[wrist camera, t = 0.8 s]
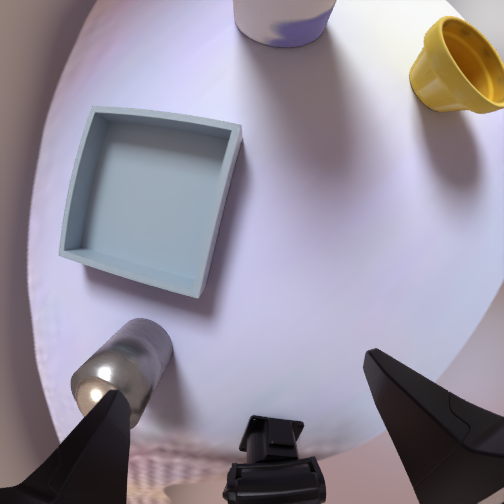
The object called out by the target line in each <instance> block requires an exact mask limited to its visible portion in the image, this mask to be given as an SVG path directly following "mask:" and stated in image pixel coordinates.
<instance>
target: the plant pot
mask: <svg viewBox="0 0 504 504" xmlns="http://www.w3.org/2000/svg"><path fill="white" fill-rule="evenodd" d="M410 82H411V86H412V88H413V90H414V92H415V94H416V95H417V96H418V98H419V99H420V100H421V101H422V102H423V103H424V104H425V105H426V106H427V107H429V108H430V109H432V110H434V111H437V112H448V111H460V110H470V111H472V112H475V113H479V114H485V113H490V112H493V111H497V110H499V109H503V108H504V64H503V62H502V60H501V58H500V56H499V55H498V53H497V52H496V50H495V49H494V47H493V46H492V45H491V43H490V42H489V41H488V40H487V39H486V38H485V36H484V35H482V33H480V32H479V31H478V30H477V29H476V28H475V27H473V26H472V25H471V24H469V23H468V22H466V21H464V20H462V19H460V18H457V17H453V16H445V17H442V18H441V19H439V20H438V21H437V22H436V23H435V24H434V25H433V26H432V27H431V28H430V29H429V30H428V31H427V32H426V34H425V37H424V47H423V49H422V51H421V52H420V54H419V56H418V58H417V59H416V61H415V63H414V64H413V66H412V67H411V69H410Z"/></svg>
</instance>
